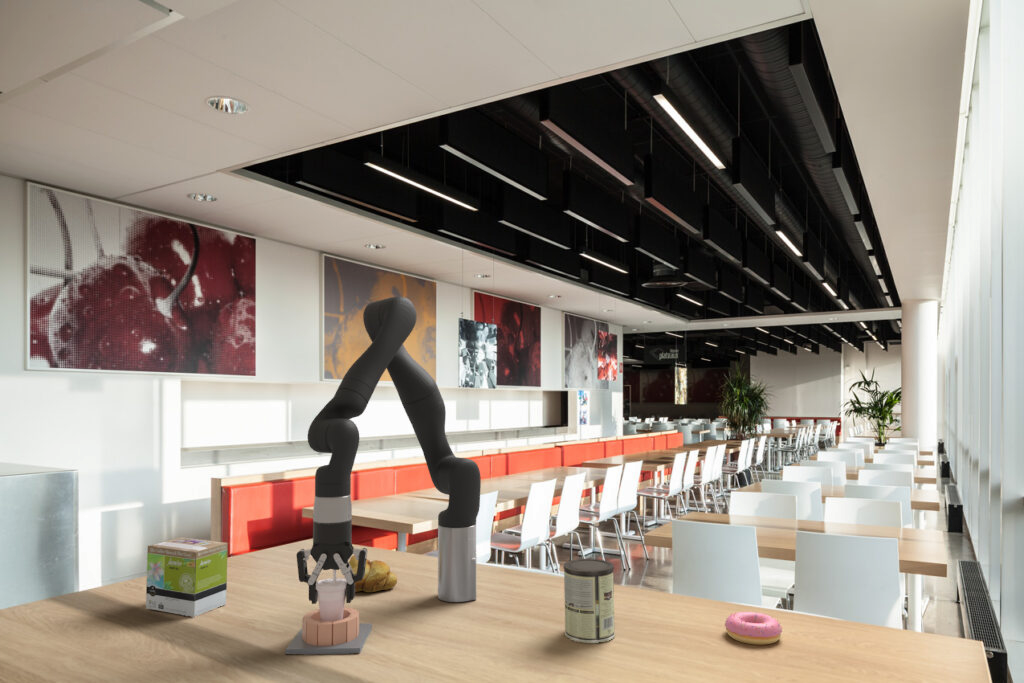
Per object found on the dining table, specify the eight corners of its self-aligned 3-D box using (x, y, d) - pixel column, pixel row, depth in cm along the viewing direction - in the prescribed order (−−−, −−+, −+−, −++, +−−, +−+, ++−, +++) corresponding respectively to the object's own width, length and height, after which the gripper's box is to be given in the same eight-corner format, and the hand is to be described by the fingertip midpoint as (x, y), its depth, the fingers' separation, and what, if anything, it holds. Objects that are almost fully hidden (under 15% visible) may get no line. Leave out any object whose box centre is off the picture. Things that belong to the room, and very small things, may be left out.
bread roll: (400, 585, 180) (401, 553, 180) (390, 596, 170) (390, 562, 171) (352, 583, 181) (352, 552, 182) (338, 594, 171) (339, 561, 172)
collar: (371, 628, 147) (372, 603, 148) (359, 653, 133) (360, 626, 134) (304, 629, 147) (304, 604, 147) (285, 654, 133) (285, 627, 133)
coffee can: (571, 624, 150) (570, 556, 150) (619, 629, 146) (618, 560, 147) (558, 640, 140) (557, 568, 141) (609, 646, 136) (608, 572, 137)
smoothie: (339, 638, 136) (339, 564, 137) (309, 636, 138) (309, 563, 139) (353, 626, 143) (353, 557, 144) (324, 625, 144) (324, 555, 145)
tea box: (143, 610, 160) (145, 544, 161) (179, 598, 169) (181, 535, 170) (193, 618, 154) (195, 550, 155) (228, 605, 163) (229, 540, 164)
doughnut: (713, 633, 144) (713, 612, 145) (755, 625, 149) (754, 605, 149) (751, 651, 134) (750, 628, 135) (794, 642, 139) (794, 621, 139)
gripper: (371, 513, 146) (370, 596, 145) (301, 514, 145) (300, 597, 144) (365, 520, 138) (364, 607, 137) (291, 521, 138) (290, 609, 137)
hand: (331, 602), depth 141 cm, fingers closed on smoothie, 6 cm apart
